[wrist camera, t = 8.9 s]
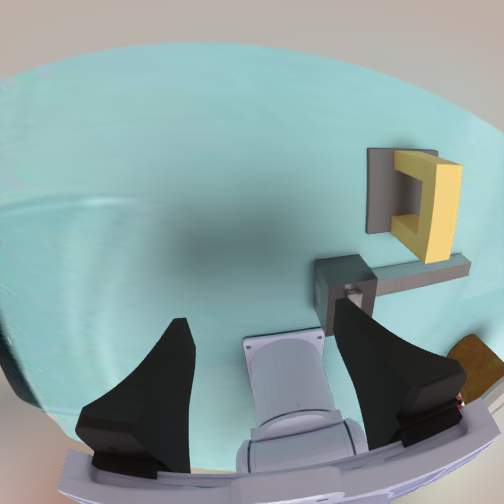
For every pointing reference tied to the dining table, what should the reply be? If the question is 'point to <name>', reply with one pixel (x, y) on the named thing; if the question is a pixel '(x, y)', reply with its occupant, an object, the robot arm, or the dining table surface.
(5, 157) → the dining table surface
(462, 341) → the disposable coffee cup
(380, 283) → the grey block with bar
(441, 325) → the dining table surface
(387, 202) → the rubber mat
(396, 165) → the yellow pull handle
